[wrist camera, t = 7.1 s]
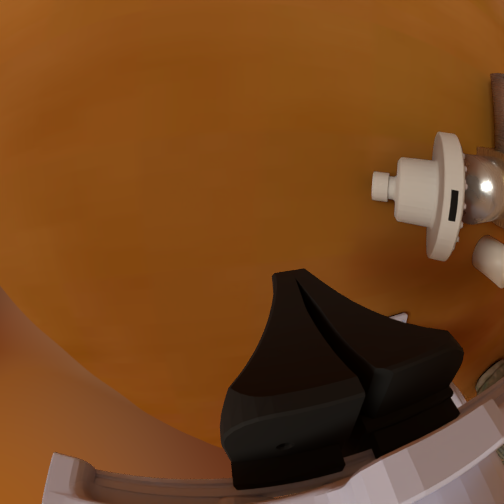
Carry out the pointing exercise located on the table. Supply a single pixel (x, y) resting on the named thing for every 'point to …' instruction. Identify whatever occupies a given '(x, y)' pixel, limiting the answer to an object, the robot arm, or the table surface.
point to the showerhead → (429, 194)
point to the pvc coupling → (490, 259)
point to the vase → (487, 380)
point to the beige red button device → (487, 170)
